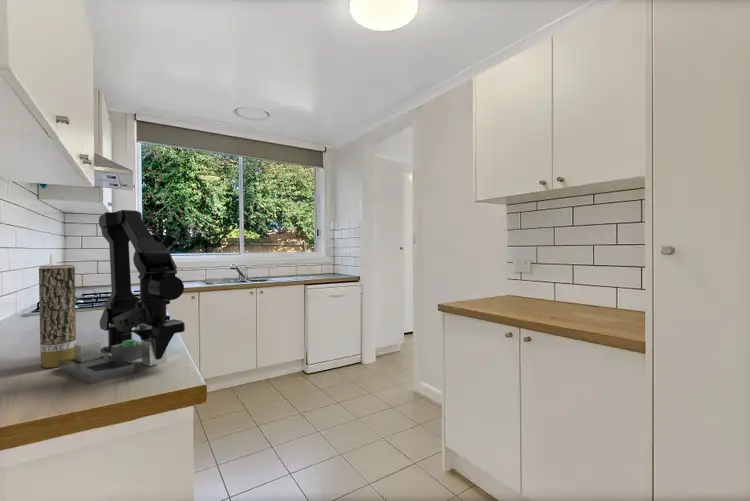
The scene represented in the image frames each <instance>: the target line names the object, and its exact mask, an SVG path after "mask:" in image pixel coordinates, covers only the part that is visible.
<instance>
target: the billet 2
mask: <svg viewBox="0 0 750 501" xmlns="http://www.w3.org/2000/svg"><path fill="white" fill-rule="evenodd" d="M141 342H142V358H141V364H142V365H145V366H149V367H152V366H157V365H160V364H164V363H167V349H166V350H165V352H164V354H163V356H162V358H161V359H158V360H157V359H156V357H155V351H154V344H153V340H152V339H151V338H149V339H144V340H142V341H141Z"/></svg>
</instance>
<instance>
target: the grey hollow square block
mask: <svg viewBox="0 0 750 501" xmlns="http://www.w3.org/2000/svg"><path fill="white" fill-rule="evenodd" d="M110 356H113V357H116V358H119V359H121V360H124V361H127V362H131V361H136V360H139V359H142V341H138V340H136V345H134V346H129V347H122V344H118V345H113V346H111V351H110Z"/></svg>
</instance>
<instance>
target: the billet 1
mask: <svg viewBox="0 0 750 501" xmlns="http://www.w3.org/2000/svg"><path fill="white" fill-rule="evenodd" d="M101 345H102V344H101V342H100V341H97V340H95V339H94V340H89V341H88V340H87V341H82V342H79V343H77V342H76V344H74V362H75V363H77V364H81V363H85V362H90V361H94V360H99V359H101V352H102V351H101V347H102V346H101Z"/></svg>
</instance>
